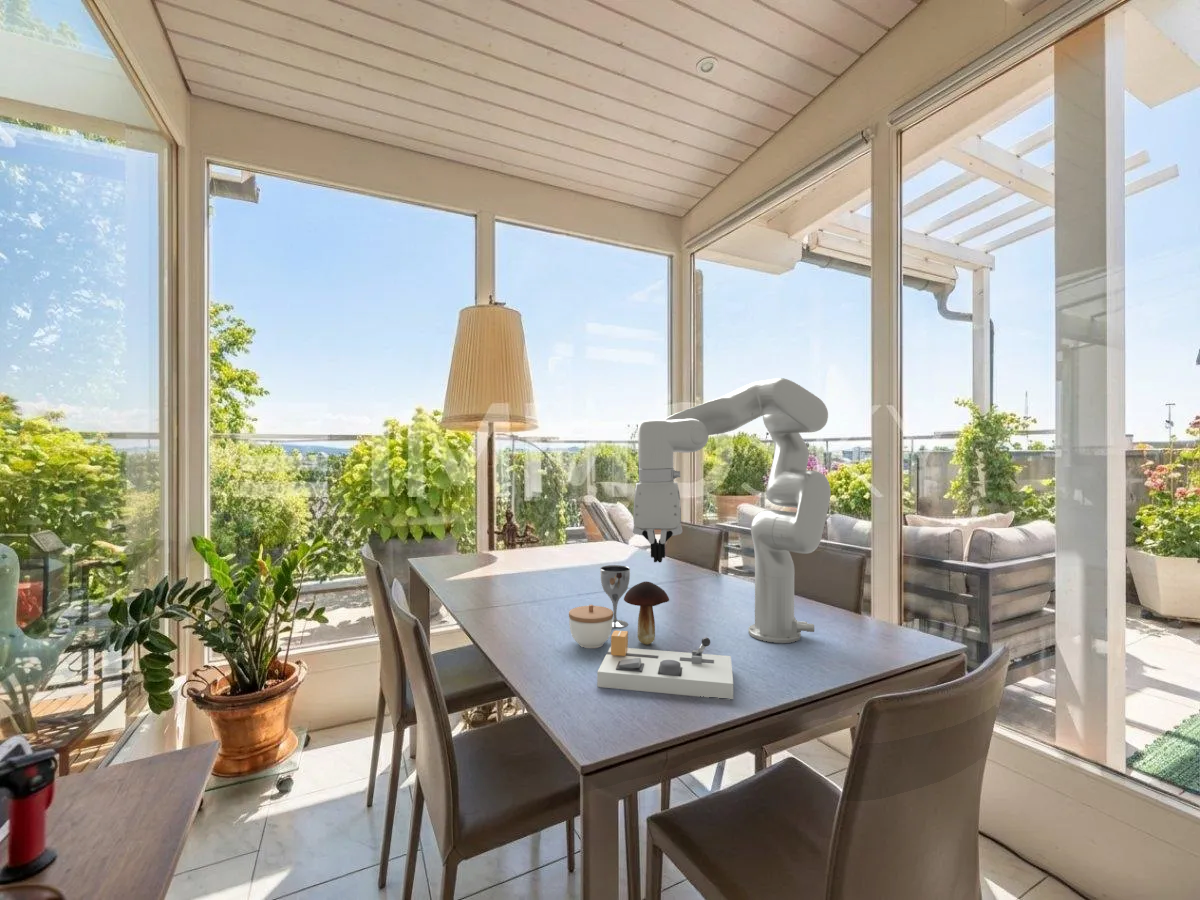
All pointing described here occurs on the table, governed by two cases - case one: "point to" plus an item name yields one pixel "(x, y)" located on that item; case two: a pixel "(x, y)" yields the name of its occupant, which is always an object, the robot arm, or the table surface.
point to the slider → (619, 643)
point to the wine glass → (615, 587)
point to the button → (670, 668)
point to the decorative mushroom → (646, 607)
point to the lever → (703, 646)
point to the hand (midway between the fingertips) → (658, 560)
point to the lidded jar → (590, 625)
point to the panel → (644, 675)
